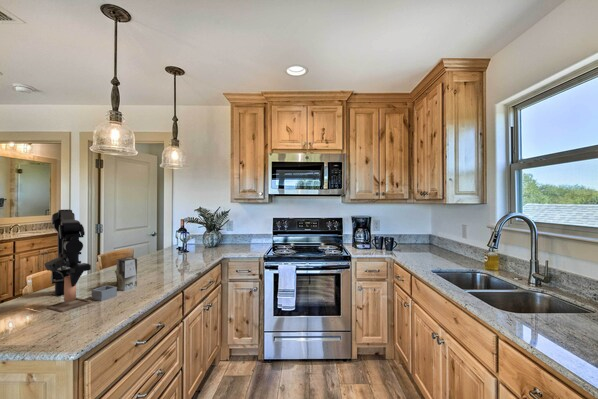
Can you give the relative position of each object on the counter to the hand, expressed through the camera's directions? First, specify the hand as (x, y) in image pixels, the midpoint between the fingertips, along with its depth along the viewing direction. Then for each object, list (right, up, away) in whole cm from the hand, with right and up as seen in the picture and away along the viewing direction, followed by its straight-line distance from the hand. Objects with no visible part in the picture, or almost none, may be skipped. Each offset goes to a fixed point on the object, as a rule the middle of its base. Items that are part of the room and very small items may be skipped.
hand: (70, 285), depth 118 cm
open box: (+8, -9, +10) cm, 16 cm away
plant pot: (+3, -10, +32) cm, 34 cm away
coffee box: (+10, -10, +24) cm, 28 cm away
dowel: (0, -6, 0) cm, 6 cm away
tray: (0, -9, 0) cm, 9 cm away
